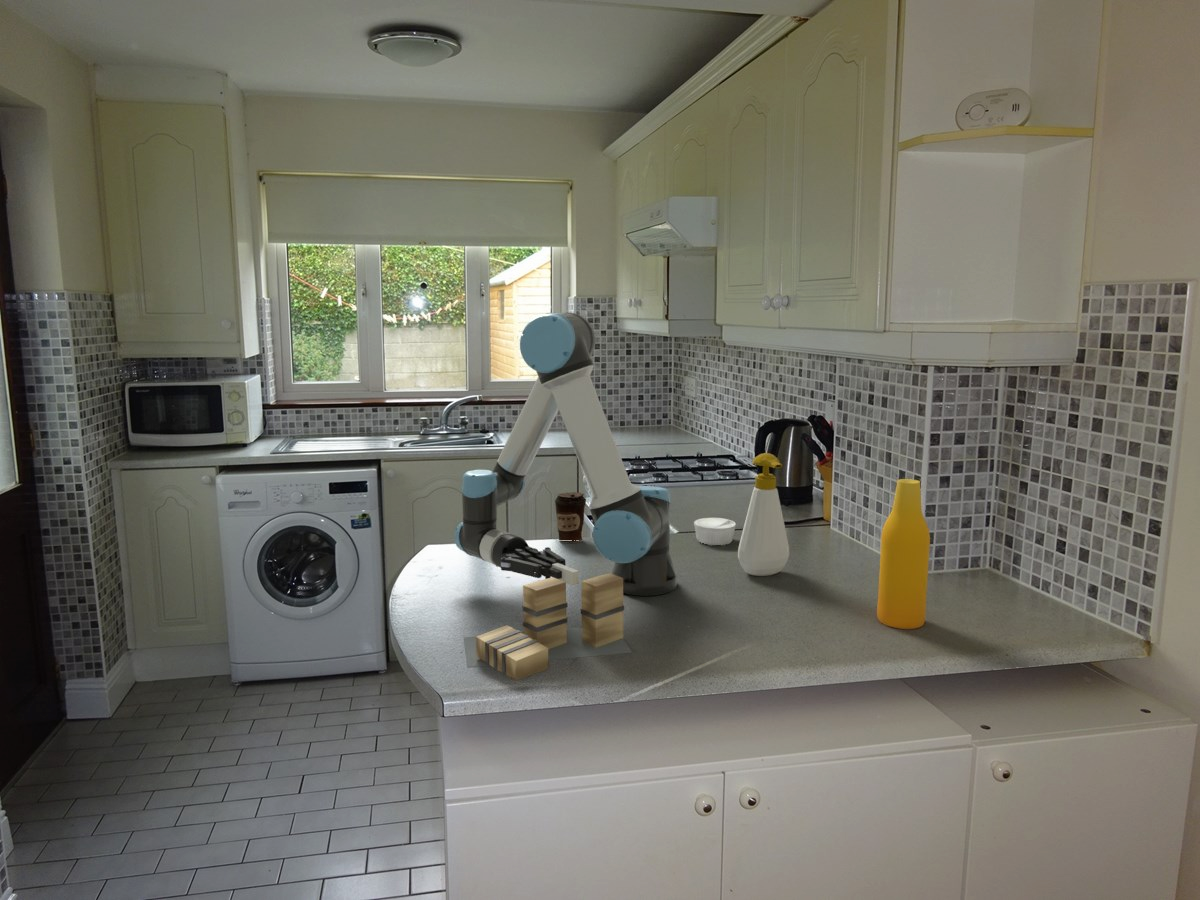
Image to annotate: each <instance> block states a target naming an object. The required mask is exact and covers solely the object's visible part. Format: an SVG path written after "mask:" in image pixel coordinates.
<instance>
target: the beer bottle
mask: <svg viewBox="0 0 1200 900" xmlns="http://www.w3.org/2000/svg"><path fill="white" fill-rule="evenodd" d="M894 492H895V493H894V500H893V505H892V508H891V512H890V513H889V516H888V517H887V519H886V521H885V522H884V525H883V528H882V532H881V537H880V557H879V558H880V559H879V576H878V594H877V598H878V599H877V607H876V615H877V619H878V621H879V622H880V623H881V624H883V625H885V626H887V627H890V628H894V629H899V630H901V629H902V630H915V629H919V628H921V627H922V626H924V624H925V621H926V615H927V612H926V611H927V609H926V608H927V595H928V594H927V592H928V590H927V589H928V576H929V561H930V559H929V558H930V545H931V537H930V536H931V535H930V534H931V533H930V529H929V526H928V524H927V521H926V519H925V517H924V514H923V509H922V508H923V507H922V493H921V481H920V480H916V479H910V478H900V479H898V480H897V481H896V487H895V491H894Z"/></svg>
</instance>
